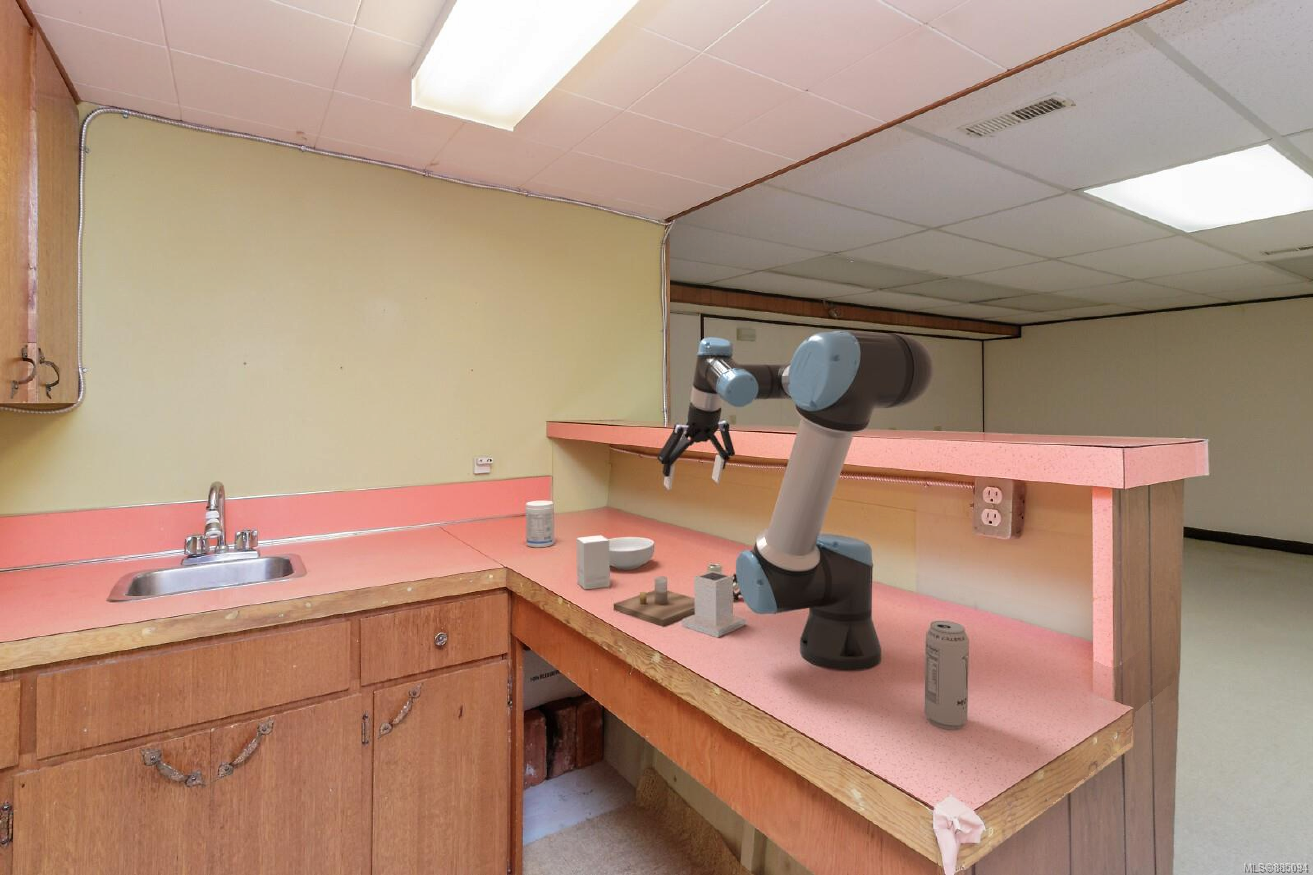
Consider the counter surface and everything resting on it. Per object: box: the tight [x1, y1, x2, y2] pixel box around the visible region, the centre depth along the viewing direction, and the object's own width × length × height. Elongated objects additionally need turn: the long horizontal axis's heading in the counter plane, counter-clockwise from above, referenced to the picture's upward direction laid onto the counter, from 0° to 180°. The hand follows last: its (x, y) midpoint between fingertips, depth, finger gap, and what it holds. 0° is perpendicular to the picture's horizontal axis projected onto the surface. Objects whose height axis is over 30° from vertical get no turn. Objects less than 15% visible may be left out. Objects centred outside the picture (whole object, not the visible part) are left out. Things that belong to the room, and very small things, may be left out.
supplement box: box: [576, 534, 611, 591], centre depth 170 cm, size 7×7×13 cm
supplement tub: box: [525, 500, 555, 549], centre depth 217 cm, size 10×10×15 cm
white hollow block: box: [681, 571, 747, 638], centre depth 139 cm, size 10×10×11 cm
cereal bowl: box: [607, 536, 655, 571], centre depth 189 cm, size 17×17×7 cm
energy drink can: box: [924, 620, 970, 730], centre depth 97 cm, size 6×6×15 cm
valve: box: [706, 563, 742, 601], centre depth 161 cm, size 7×7×12 cm
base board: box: [613, 575, 695, 627], centre depth 150 cm, size 16×16×8 cm
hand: (691, 483), depth 155 cm, fingers open, 13 cm apart
